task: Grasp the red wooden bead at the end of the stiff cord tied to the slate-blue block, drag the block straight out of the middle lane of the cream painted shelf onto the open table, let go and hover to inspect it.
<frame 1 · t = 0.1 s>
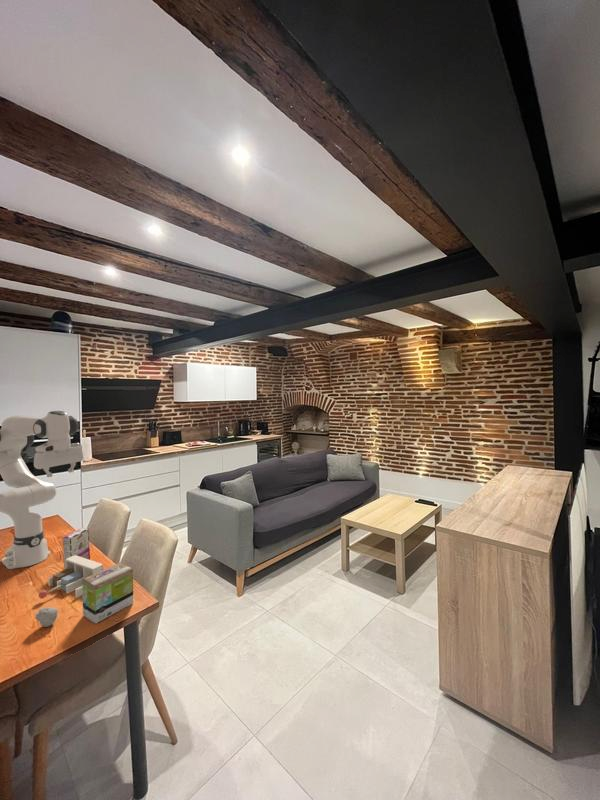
hand: (60, 474, 161), 48 cm above the table, fingers open, 8 cm apart
candy bar box: (77, 565, 172), on the table
grey rounded lump: (47, 626, 126), on the table
walnut block: (63, 583, 155), resting in lane shelf
lane shelf: (76, 584, 153), on the table
tea box: (109, 610, 135), on the table
tethered block: (71, 587, 152), on the table
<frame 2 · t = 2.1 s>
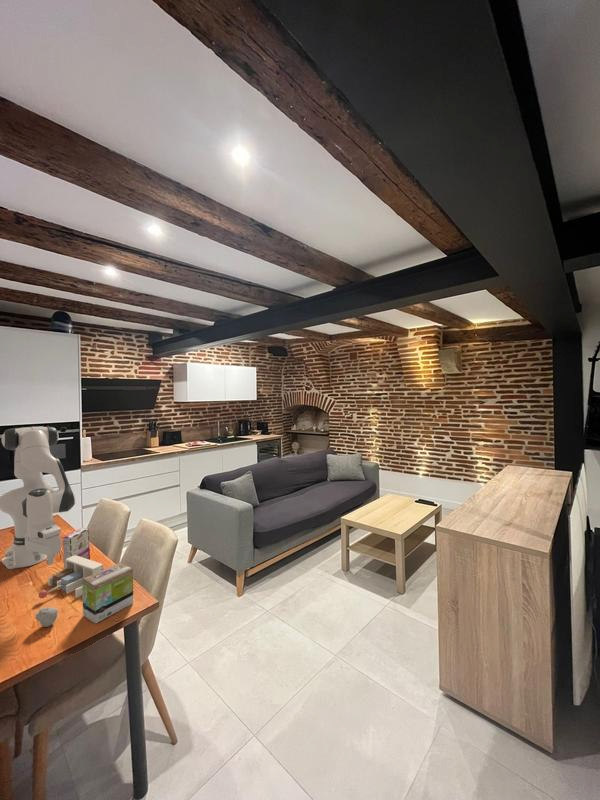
hand: (43, 562, 141), 16 cm above the table, fingers open, 8 cm apart
nothing on the table moved.
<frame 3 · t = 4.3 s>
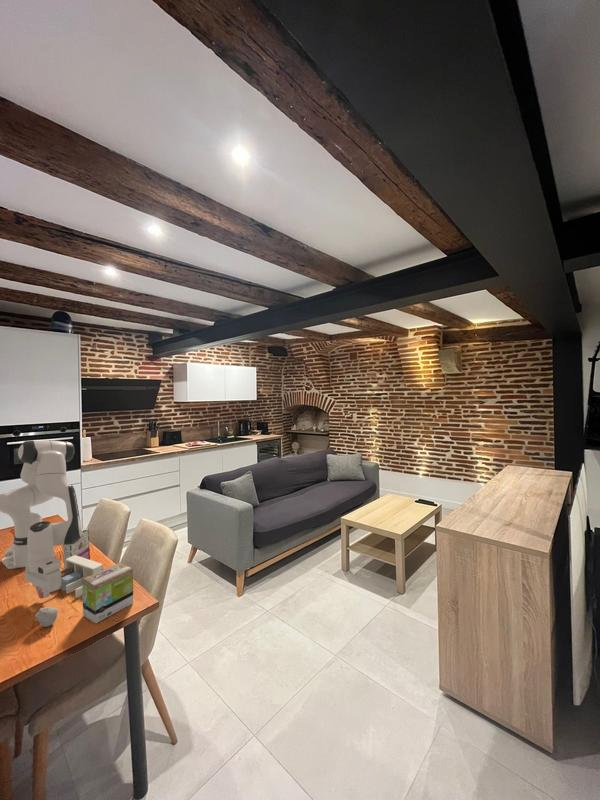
hand: (43, 595, 141), 2 cm above the table, fingers closed on tethered block, 3 cm apart
tethered block: (71, 587, 152), on the table, touching gripper
everything else where it was.
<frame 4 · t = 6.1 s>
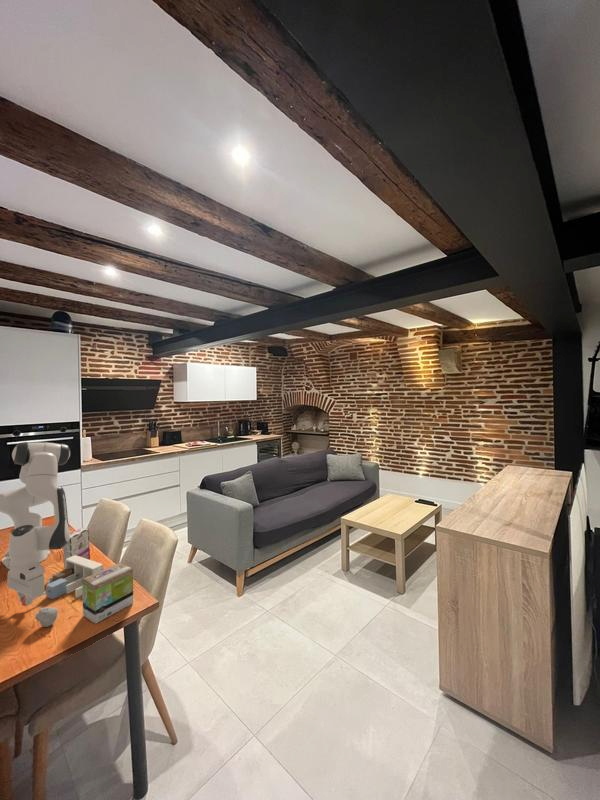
hand: (25, 602, 136), 3 cm above the table, fingers closed on tethered block, 3 cm apart
tethered block: (57, 594, 146), on the table, touching gripper
everything else where it was.
when the fingers open (2 cm above the table, at t = 7.8 s): tethered block stays where it is, on the table.
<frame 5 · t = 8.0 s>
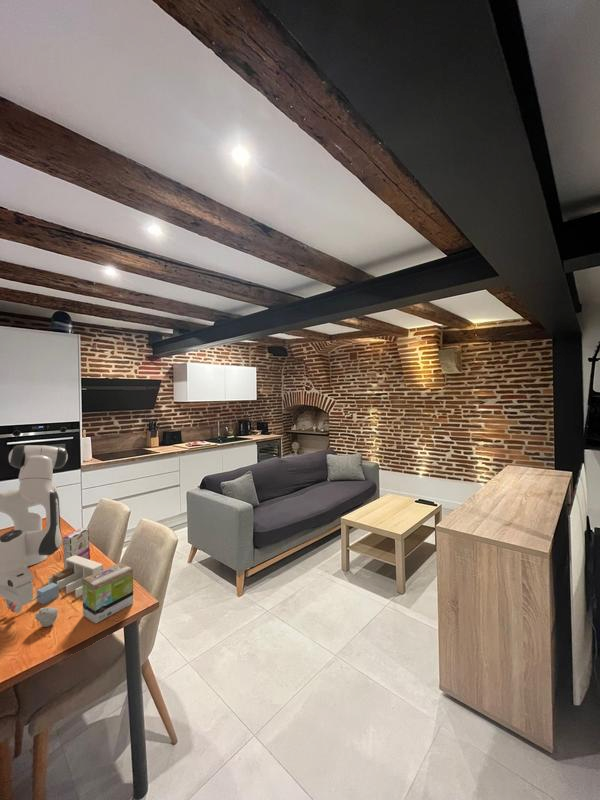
hand: (14, 609, 133), 2 cm above the table, fingers open, 4 cm apart
tethered block: (48, 599, 143), on the table
everything else where it was.
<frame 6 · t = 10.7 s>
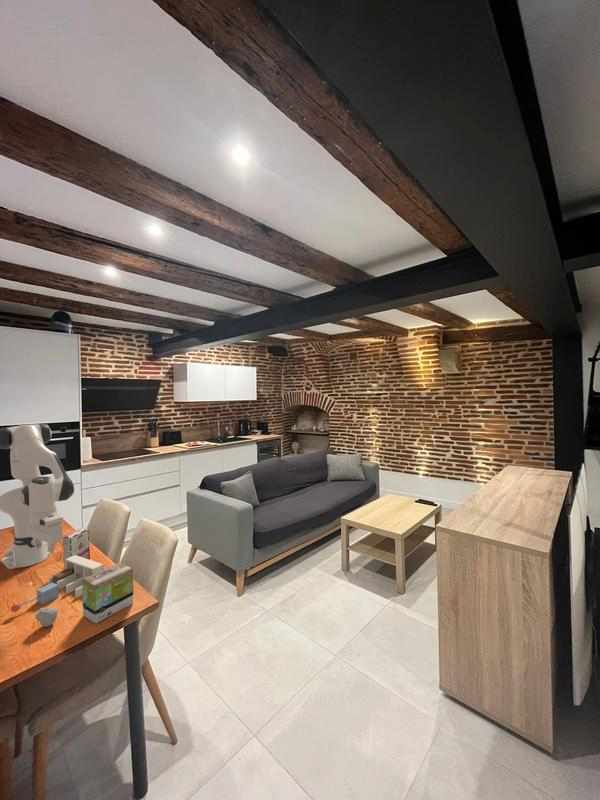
hand: (44, 549, 142), 21 cm above the table, fingers open, 8 cm apart
nothing on the table moved.
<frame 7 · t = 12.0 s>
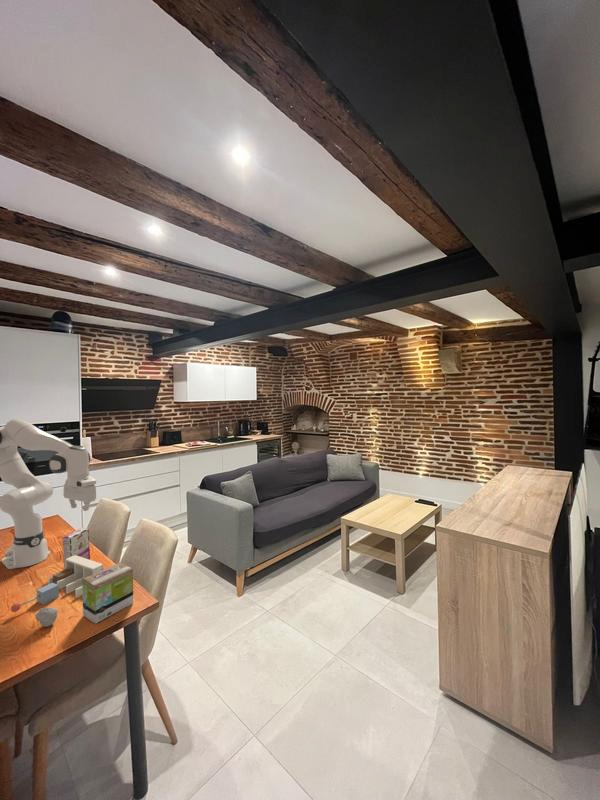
hand: (79, 509, 162), 31 cm above the table, fingers open, 8 cm apart
nothing on the table moved.
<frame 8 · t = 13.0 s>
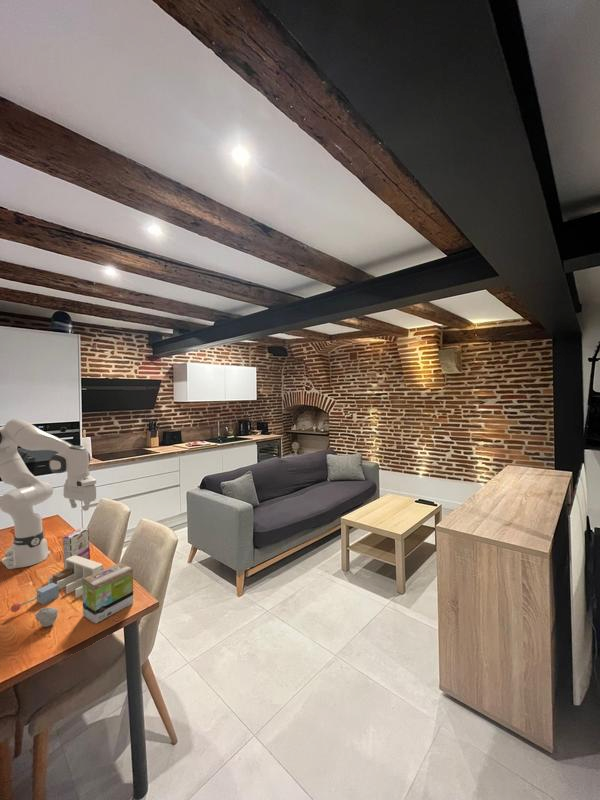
hand: (79, 508, 162), 31 cm above the table, fingers open, 8 cm apart
nothing on the table moved.
at the end: tethered block inside the target area (3.2 cm from its centre), on the table; tethered block tilted 0°; the gripper is holding nothing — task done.
